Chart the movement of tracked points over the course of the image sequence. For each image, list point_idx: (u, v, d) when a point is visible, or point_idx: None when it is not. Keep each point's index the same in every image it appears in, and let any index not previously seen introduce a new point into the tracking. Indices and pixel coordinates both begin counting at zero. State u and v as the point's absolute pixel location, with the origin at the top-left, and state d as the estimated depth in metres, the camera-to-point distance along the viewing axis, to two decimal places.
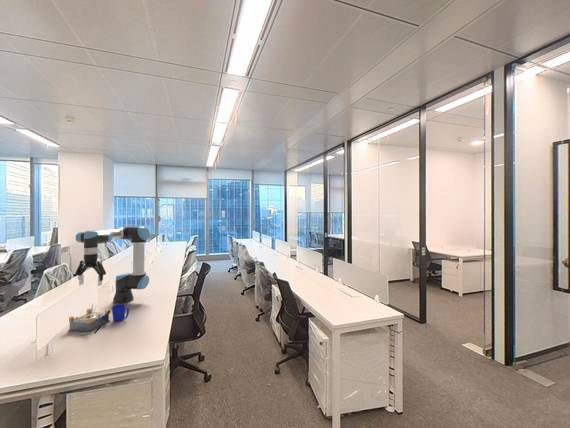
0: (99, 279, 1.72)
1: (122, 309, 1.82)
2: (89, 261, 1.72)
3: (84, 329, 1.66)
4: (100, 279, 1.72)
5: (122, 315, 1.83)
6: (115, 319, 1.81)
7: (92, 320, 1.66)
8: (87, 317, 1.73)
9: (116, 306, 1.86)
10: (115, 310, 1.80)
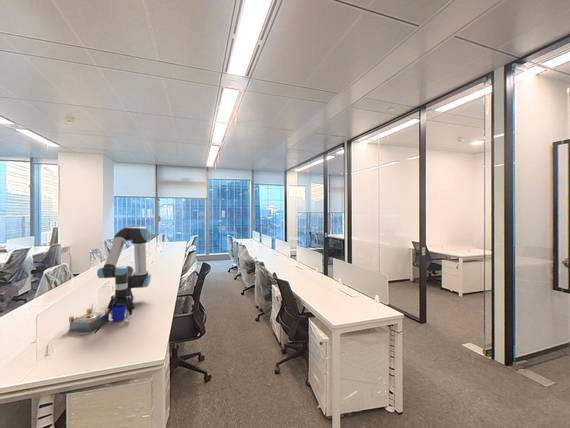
0: (129, 314, 1.82)
1: (122, 309, 1.82)
2: (120, 296, 1.83)
3: (84, 329, 1.66)
4: (129, 314, 1.82)
5: (122, 315, 1.83)
6: (115, 319, 1.81)
7: (92, 320, 1.66)
8: (87, 317, 1.73)
9: (116, 306, 1.86)
10: (115, 310, 1.80)
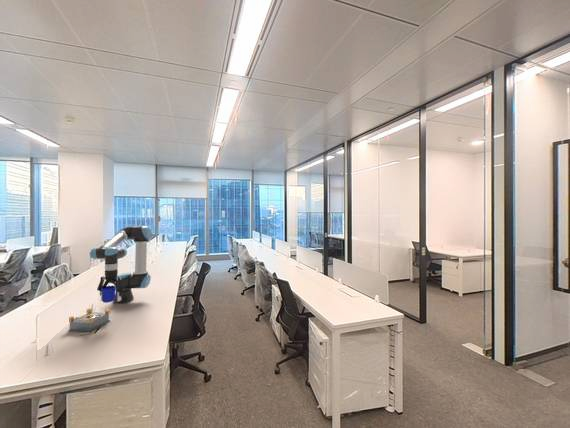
0: (118, 295, 1.79)
1: (112, 290, 1.79)
2: (110, 277, 1.79)
3: (84, 329, 1.66)
4: (119, 295, 1.79)
5: (112, 296, 1.79)
6: (105, 300, 1.77)
7: (92, 320, 1.66)
8: (87, 317, 1.73)
9: (106, 287, 1.82)
10: (105, 291, 1.77)
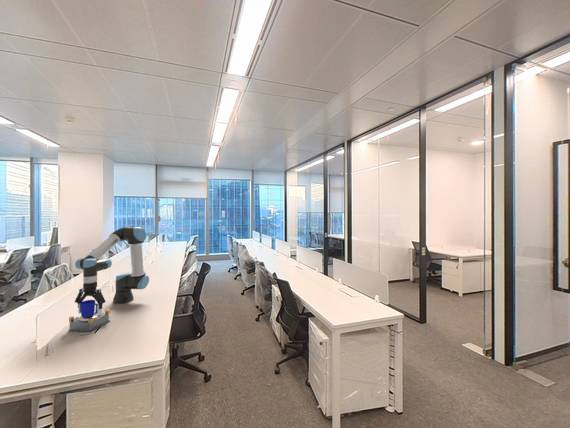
0: (98, 307, 1.72)
1: (91, 305, 1.73)
2: (88, 289, 1.73)
3: (84, 329, 1.66)
4: (99, 307, 1.73)
5: (91, 311, 1.73)
6: (83, 315, 1.71)
7: (92, 320, 1.66)
8: None
9: (85, 302, 1.76)
10: (83, 306, 1.70)
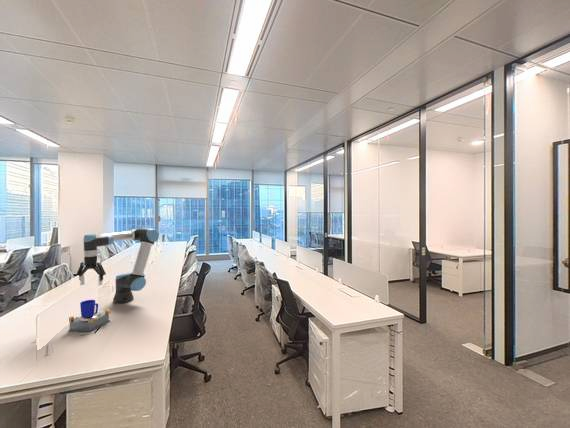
0: (99, 279, 1.86)
1: (91, 305, 1.73)
2: (89, 263, 1.85)
3: (84, 329, 1.66)
4: (100, 279, 1.86)
5: (91, 311, 1.73)
6: (83, 315, 1.71)
7: (92, 320, 1.66)
8: None
9: (85, 302, 1.76)
10: (83, 306, 1.70)
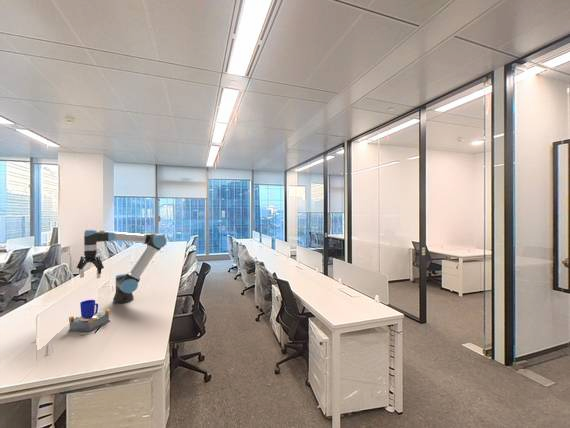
0: (98, 272, 1.95)
1: (91, 305, 1.73)
2: (89, 256, 1.95)
3: (84, 329, 1.66)
4: (98, 272, 1.95)
5: (91, 311, 1.73)
6: (83, 315, 1.71)
7: (92, 320, 1.66)
8: None
9: (85, 302, 1.76)
10: (83, 306, 1.70)
